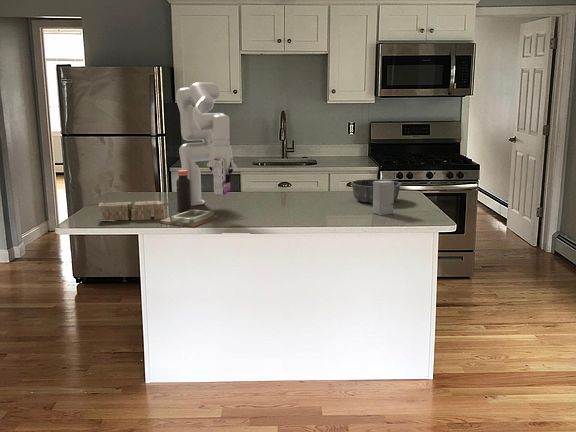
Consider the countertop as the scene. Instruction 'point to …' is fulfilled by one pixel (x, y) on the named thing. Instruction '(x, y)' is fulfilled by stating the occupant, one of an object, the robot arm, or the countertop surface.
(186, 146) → the robot arm
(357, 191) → the bundt pan
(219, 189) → the candy bar box
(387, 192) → the skincare box
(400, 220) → the countertop surface
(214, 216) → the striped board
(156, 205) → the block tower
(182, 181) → the bottle
